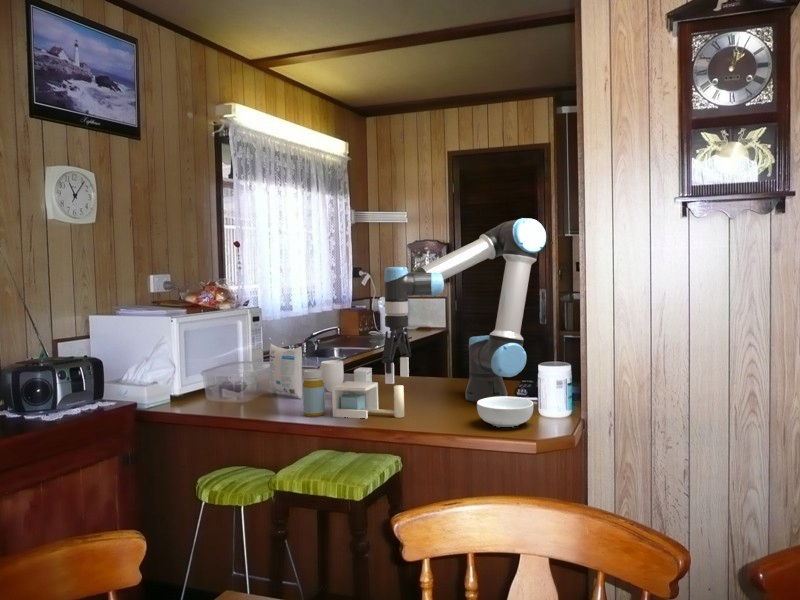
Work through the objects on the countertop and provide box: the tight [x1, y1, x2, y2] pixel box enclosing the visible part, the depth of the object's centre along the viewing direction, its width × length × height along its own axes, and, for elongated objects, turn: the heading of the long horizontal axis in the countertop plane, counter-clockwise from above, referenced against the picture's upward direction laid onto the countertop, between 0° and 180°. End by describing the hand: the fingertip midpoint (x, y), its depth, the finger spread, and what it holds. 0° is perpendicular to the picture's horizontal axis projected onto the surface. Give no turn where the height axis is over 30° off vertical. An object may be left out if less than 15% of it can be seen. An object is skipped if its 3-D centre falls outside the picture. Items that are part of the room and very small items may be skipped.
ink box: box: [353, 367, 373, 382], centre depth 234 cm, size 9×5×12 cm, turn 168°
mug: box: [318, 359, 345, 393], centre depth 255 cm, size 12×9×12 cm
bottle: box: [302, 368, 326, 418], centre depth 213 cm, size 7×7×15 cm
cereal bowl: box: [476, 395, 534, 428], centre depth 193 cm, size 17×17×7 cm
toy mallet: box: [341, 384, 405, 419], centre depth 210 cm, size 21×6×10 cm, turn 70°
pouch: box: [269, 343, 303, 400], centre depth 246 cm, size 8×19×20 cm, turn 44°
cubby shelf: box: [331, 380, 379, 420], centre depth 212 cm, size 12×10×10 cm
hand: (397, 380), depth 206 cm, fingers open, 13 cm apart
